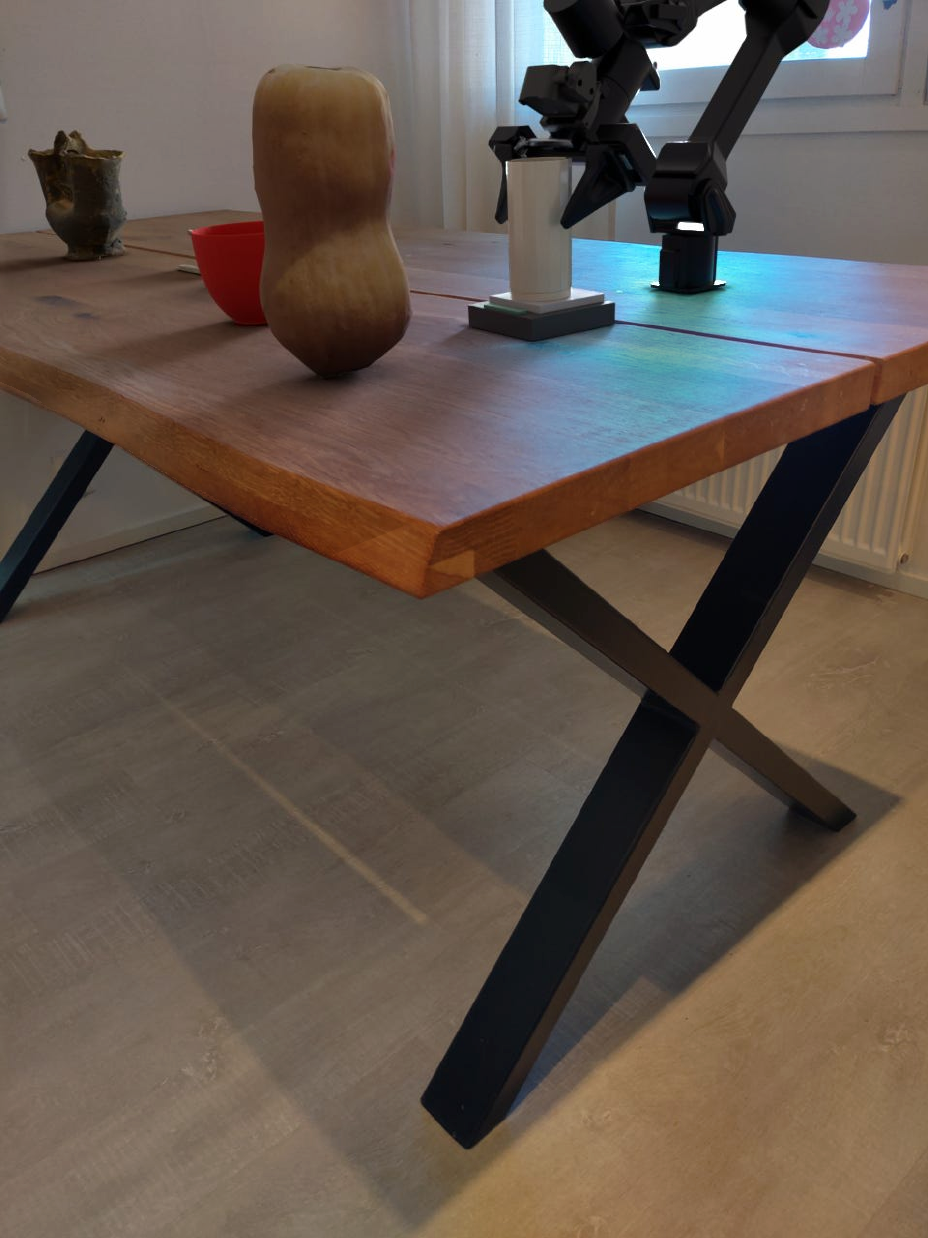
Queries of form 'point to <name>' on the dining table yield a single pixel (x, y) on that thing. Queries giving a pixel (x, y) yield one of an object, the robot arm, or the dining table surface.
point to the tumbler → (539, 228)
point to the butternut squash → (328, 216)
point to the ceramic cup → (233, 267)
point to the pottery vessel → (82, 195)
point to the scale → (542, 315)
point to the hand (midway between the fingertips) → (529, 223)
